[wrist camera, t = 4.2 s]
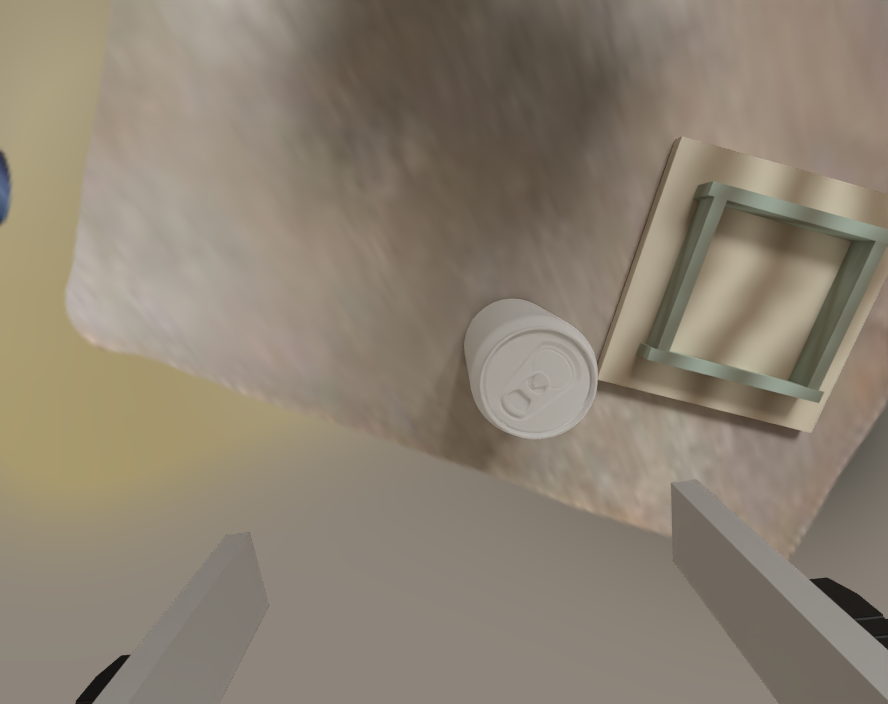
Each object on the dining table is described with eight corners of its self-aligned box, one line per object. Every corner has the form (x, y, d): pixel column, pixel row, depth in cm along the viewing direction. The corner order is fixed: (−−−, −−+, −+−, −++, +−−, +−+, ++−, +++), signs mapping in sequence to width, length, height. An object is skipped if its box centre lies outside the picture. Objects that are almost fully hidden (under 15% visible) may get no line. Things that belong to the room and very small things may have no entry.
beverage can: (575, 343, 37) (633, 384, 26) (508, 405, 39) (534, 471, 27) (511, 277, 36) (542, 289, 24) (444, 344, 37) (443, 385, 26)
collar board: (593, 376, 38) (605, 386, 35) (675, 139, 34) (696, 128, 31) (802, 428, 39) (830, 442, 36) (908, 205, 35) (950, 200, 32)
